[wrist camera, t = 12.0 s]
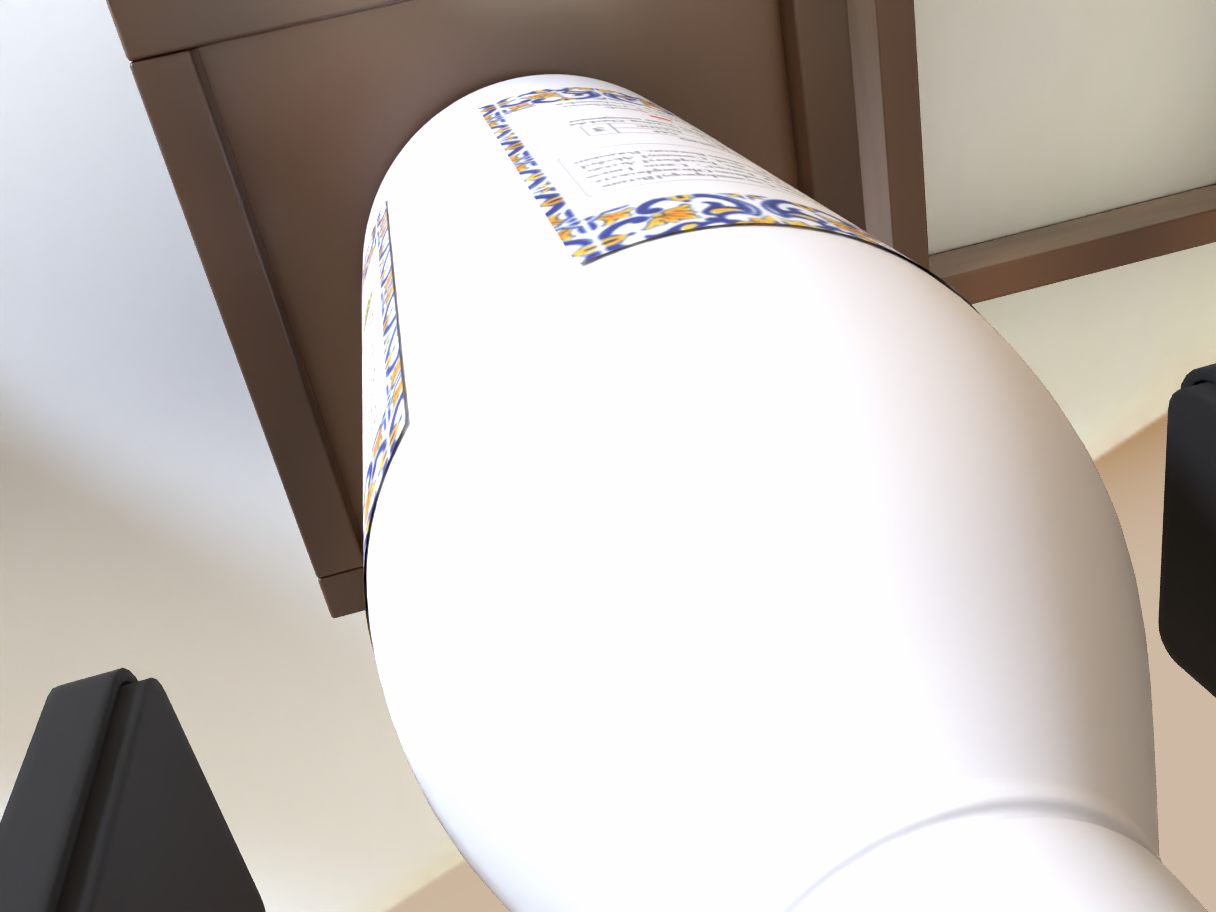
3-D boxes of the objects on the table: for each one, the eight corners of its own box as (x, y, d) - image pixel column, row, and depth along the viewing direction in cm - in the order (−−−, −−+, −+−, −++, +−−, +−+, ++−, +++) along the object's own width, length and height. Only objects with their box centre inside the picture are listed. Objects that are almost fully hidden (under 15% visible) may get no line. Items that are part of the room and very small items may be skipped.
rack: (342, 436, 32) (335, 630, 23) (185, -40, 26) (96, -21, 17) (1257, 204, 34) (1561, 300, 26) (1295, -275, 29) (1702, -361, 20)
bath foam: (532, 491, 23) (1067, 2252, 6) (280, 251, 20) (-240, 2428, 3) (791, 270, 23) (2386, 1559, 5) (568, -18, 19) (2703, 612, 2)
